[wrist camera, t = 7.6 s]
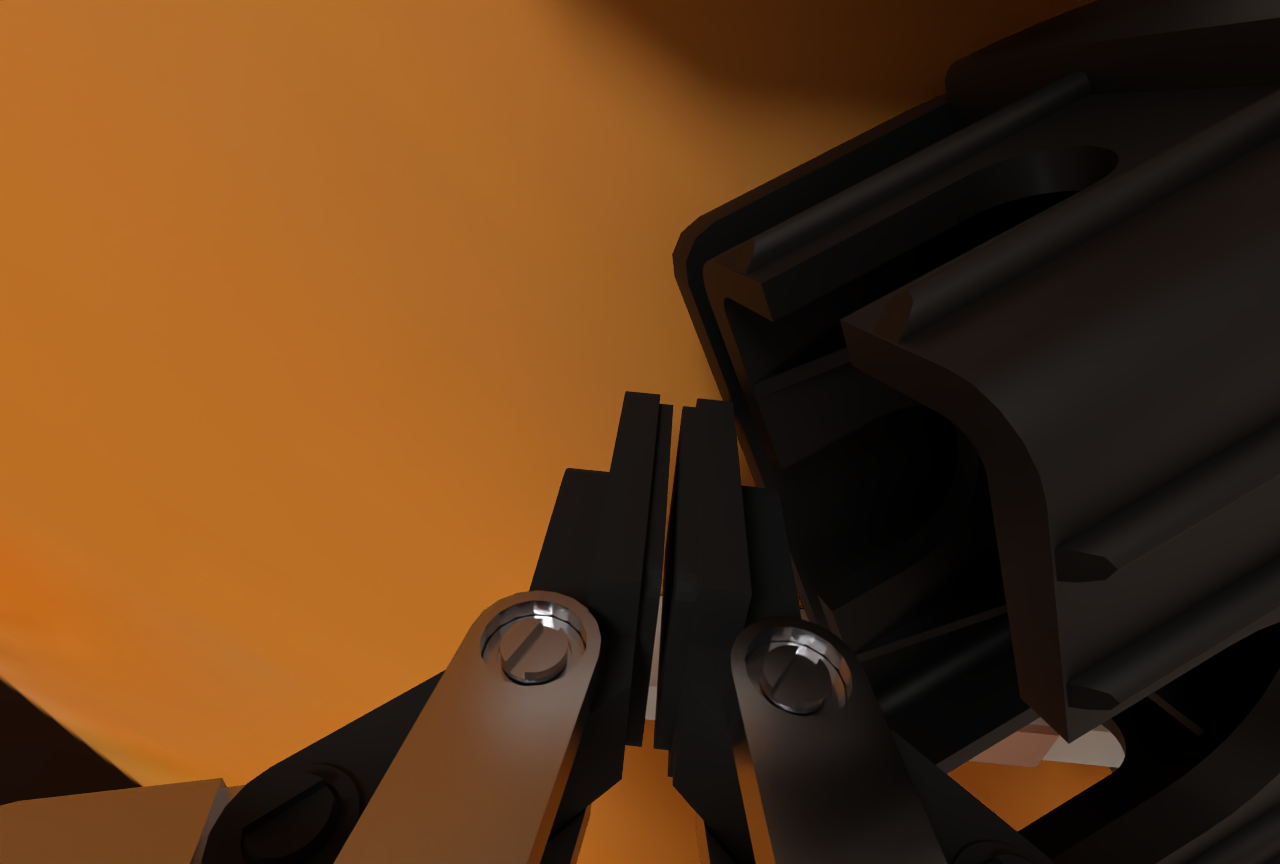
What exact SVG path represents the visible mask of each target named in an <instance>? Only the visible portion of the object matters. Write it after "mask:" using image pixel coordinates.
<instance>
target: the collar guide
mask: <svg viewBox="0 0 1280 864" xmlns="http://www.w3.org/2000/svg"><path fill="white" fill-rule="evenodd" d="M661 613H662V596H660V601H659V610H658V618H657V626H656V634H655V642H654V651H653V659H652V667H651V675H650V683H649V691H648V699H647V707H646V716H645V719H648V720H655V713H656V696H657V679H658V663H659V646H660V630H661ZM800 613H801V619H803V620H806V621H809V620H808V617H807V615H806V612H805V610H804V609H800ZM1124 757H1125V754H1124V751H1123V749H1122V747H1121V745H1120V743H1119V742H1118V740H1117V739H1116V737H1115V736H1114V735H1113V734H1112V733H1111V732H1110V731H1109V730H1108V729H1106V728H1105V727H1104V726H1102V725H1099V726H1097V727H1096V728H1094V729H1093V730H1091V731H1089V732H1088V733H1086V734H1084V735H1083V736H1081V737H1079V738H1078V739H1076V740H1074V741H1073V742H1071V743H1070V744H1068V743H1067V742H1066V741H1065V740H1064V739H1063V738H1062V737H1061V736H1060V735H1059V734H1058V733H1057V732H1056V731H1055V730H1054V729H1053V728H1052V727H1051V726H1049V725H1048V724H1047V723H1046V722H1045V721H1044V720H1043V719H1042V718H1041V717H1040V718H1038V719H1037V720H1035V721H1033V722H1032V723H1030V724H1028V725H1027V726H1025V727H1023V728H1022V729H1020V730H1018V731H1017V732H1015V733H1013V734H1012V735H1010V736H1008V737H1007V738H1005V739H1003V740H1002V741H1000V742H998V743H997V744H995V745H993V746H992V747H990V748H989V749H987V750H985V751H984V752H982V753H980V754H979V755H977V756H975V757H974V758H972V759H970V760H969V761H974V762H983V763H993V764H1003V765H1012V766H1022V767H1032V768H1036V767H1037V766H1038V765H1039V763H1040V762H1041V761H1042V760H1048V761H1058V762H1068V763H1078V764H1087V765H1097V766H1107V767H1110V769H1111V771H1112V773H1113V772H1114V771H1116V770H1117V769H1118V768H1119V767H1120V765H1121V764H1122V763H1123V760H1124Z"/></svg>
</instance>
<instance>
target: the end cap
mask: <svg viewBox="0 0 1280 864" xmlns="http://www.w3.org/2000/svg"><path fill="white" fill-rule="evenodd" d="M945 86H946V94H944V95H942V96H940V97H937V98H935V99H933V100H931V101H928V102H926V103H924V104H921V105H919V106H917V107H915V108H912V109H910V110H908V111H905V112H904V113H902V114H900V115H898V116H896V117H894V118H892V119H890V120H888V121H886V122H884V123H882V124H880V125H878V126H876V127H874V128H872V129H870V130H868V131H866V132H864V133H862V134H860V135H859V136H857V137H855V138H853V139H851V140H849V141H847V142H845V143H843V144H841V145H839V146H837V147H835V148H833V149H831V150H829V151H827V152H825V153H823V154H821V155H819V156H817V157H815V158H814V159H812V160H810V161H808V162H806V163H804V164H802V165H800V166H798V167H796V168H794V169H792V170H790V171H788V172H786V173H784V174H782V175H780V176H778V177H776V178H774V179H772V180H770V181H768V182H767V183H765V184H763V185H761V186H759V187H757V188H755V189H753V190H751V191H749V192H747V193H745V194H743V195H741V196H739V197H737V198H735V199H733V200H731V201H729V202H727V203H725V204H723V205H722V206H720V207H718V208H716V209H714V210H712V211H710V212H708V213H706V214H704V215H702V216H700V217H699V218H697V219H696V220H695V221H694V222H693V223H692V224H691V225H690V226H688V227H687V228H686V229H685V230H684V231H683V232H682V233H681V234H680V237H679V239H678V242H677V244H676V247H675V249H674V252H673V254H672V256H673V265H674V275H675V279H676V281H677V284H678V286H679V289H680V291H681V294H682V297H683V299H684V302H685V304H686V307H687V309H688V312H689V315H690V317H691V320H692V322H693V325H694V327H695V330H696V332H697V335H698V338H699V340H700V343H701V345H702V348H703V350H704V353H705V356H706V358H707V361H708V363H709V366H710V368H711V371H712V374H713V376H714V379H715V381H716V384H717V386H718V389H719V392H720V394H721V397H722V399H723V401H729V402H732V403H733V405H734V415H735V425H736V435H737V438H738V440H739V443H740V445H741V448H742V451H743V453H744V456H745V458H746V461H747V463H748V466H749V468H750V471H751V474H752V476H753V479H754V481H755V484H756V486H757V487H759V488H769V489H776V490H777V491H778V492H779V496H780V500H781V506H782V511H783V517H784V523H785V528H786V534H787V540H788V545H789V551H790V557H791V562H792V568H793V573H794V579H795V585H796V589H797V592H798V594H799V597H800V599H801V602H802V604H803V607H804V610H805V612H806V615H807V617H808V620H809V622H812V623H815V624H818V625H820V626H822V627H823V628H825V629H827V630H828V631H830V632H832V633H833V634H835V635H836V636H838V637H839V638H840V639H841V640H842V641H843V642H844V643H845V644H846V645H847V646H848V647H849V648H850V649H851V650H852V651H853V652H854V654H855V655H856V657H857V659H858V660H859V662H860V664H861V665H862V667H863V669H864V671H865V673H866V676H867V678H868V680H869V683H870V685H871V687H872V690H873V692H874V694H875V697H876V699H877V701H878V704H879V706H880V708H881V711H882V713H883V715H884V718H885V720H886V722H887V725H888V727H890V728H891V729H892V730H893V731H894V732H896V733H897V734H898V735H899V736H901V737H902V738H903V739H904V740H905V741H907V742H908V743H909V744H910V745H912V746H913V747H914V748H915V749H916V750H918V751H919V752H920V753H921V754H923V755H924V756H925V757H926V758H927V759H929V760H930V761H931V762H932V763H934V764H935V765H936V766H937V767H938V768H940V769H941V770H942V771H943V772H945V773H946V774H947V773H949V772H950V771H952V770H954V769H955V768H957V767H959V766H960V765H962V764H964V763H965V762H967V761H969V760H970V759H972V758H974V757H975V756H977V755H979V754H980V753H982V752H984V751H985V750H987V749H989V748H990V747H992V746H993V745H995V744H997V743H998V742H1000V741H1002V740H1003V739H1005V738H1007V737H1008V736H1010V735H1012V734H1013V733H1015V732H1017V731H1018V730H1020V729H1022V728H1023V727H1025V726H1027V725H1028V724H1030V723H1032V722H1033V721H1035V720H1037V719H1038V718H1040V717H1041V718H1042V719H1043V720H1044V721H1045V722H1046V723H1047V724H1048V725H1049V726H1051V727H1052V728H1053V729H1054V730H1055V731H1056V732H1057V733H1058V734H1059V735H1060V736H1061V737H1062V738H1063V739H1064V740H1065V741H1066V742H1067V743H1068V744H1070V743H1071V742H1073V741H1074V740H1076V739H1078V738H1079V737H1081V736H1083V735H1084V734H1086V733H1088V732H1089V731H1091V730H1093V729H1094V728H1096V727H1097V726H1099V725H1102V726H1104V727H1105V728H1106V729H1108V730H1109V731H1110V732H1111V733H1112V734H1113V735H1114V736H1115V737H1116V739H1117V740H1118V742H1119V743H1120V745H1121V747H1122V749H1123V751H1124V754H1125V757H1124V760H1123V763H1122V764H1121V765H1120V767H1119V768H1118V769H1117V770H1116V771H1114V772H1113V773H1112V774H1110V775H1109V776H1107V777H1106V778H1104V779H1102V780H1101V781H1099V782H1097V783H1096V784H1094V785H1093V786H1091V787H1089V788H1088V789H1086V790H1084V791H1083V792H1081V793H1080V794H1078V795H1076V796H1075V797H1073V798H1072V799H1070V800H1068V801H1067V802H1065V803H1063V804H1062V805H1060V806H1059V807H1057V808H1055V809H1054V810H1052V811H1050V812H1049V813H1047V814H1046V815H1044V816H1042V817H1041V818H1039V819H1038V820H1036V821H1034V822H1033V823H1031V824H1029V825H1028V826H1026V827H1025V828H1023V829H1021V830H1020V831H1018V833H1019V834H1020V835H1022V836H1023V837H1024V838H1025V839H1027V840H1028V841H1029V842H1030V843H1031V844H1033V845H1034V846H1035V847H1036V848H1038V849H1039V850H1040V851H1041V852H1042V853H1044V854H1045V855H1046V856H1047V857H1048V858H1049V859H1050V860H1051V861H1052V862H1053V863H1055V864H1280V0H1097V1H1094V2H1092V3H1089V4H1087V5H1084V6H1082V7H1079V8H1077V9H1074V10H1072V11H1069V12H1066V13H1064V14H1061V15H1059V16H1056V17H1054V18H1051V19H1049V20H1046V21H1044V22H1041V23H1039V24H1037V25H1034V26H1032V27H1030V28H1027V29H1025V30H1023V31H1020V32H1018V33H1016V34H1013V35H1011V36H1009V37H1007V38H1004V39H1002V40H1000V41H997V42H995V43H993V44H991V45H989V46H987V47H985V48H983V49H980V50H978V51H976V52H974V53H972V54H970V55H968V56H966V57H964V58H962V59H960V60H958V61H955V62H954V63H953V64H952V65H951V66H950V68H949V70H948V72H947V75H946V79H945Z"/></svg>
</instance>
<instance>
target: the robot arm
mask: <svg viewBox="0 0 1280 864" xmlns="http://www.w3.org/2000/svg"><path fill="white" fill-rule="evenodd" d="M659 403H660V395H659V394H649V393H639V392H628V391H626V392H625V397H624V402H623V407H622V412H621V417H620V422H619V427H618V432H617V437H616V442H615V447H614V452H613V457H612V463H611V468H610V472H603V471H593V470H583V469H573V468H567V469H566V471H565V473H564V476H563V479H562V483H561V486H560V489H559V493H558V496H557V499H556V503H555V506H554V509H553V513H552V516H551V520H550V523H549V526H548V530H547V533H546V536H545V540H544V543H543V546H542V550H541V553H540V556H539V560H538V563H537V566H536V570H535V573H534V576H533V580H532V583H531V586H530V590H529V591H528V592H520V593H516V594H513V595H511V596H508V597H505V598H503V599H500V600H498V601H497V602H495V603H494V604H493V605H491V606H490V607H488V608H487V609H485V610H484V611H483V612H482V613H481V614H480V616H479V617H478V618H477V619H476V621H475V622H474V623H473V624H472V626H471V627H470V629H469V631H468V632H467V634H466V636H465V638H464V639H463V641H462V643H461V644H460V646H459V648H458V650H457V651H456V653H455V655H454V657H453V658H452V660H451V662H450V663H449V665H448V667H447V669H446V670H444V671H443V672H441V673H439V674H437V675H436V676H434V677H432V678H430V679H428V680H427V681H425V682H423V683H421V684H419V685H418V686H416V687H414V688H412V689H410V690H409V691H407V692H405V693H403V694H401V695H400V696H398V697H396V698H394V699H392V700H391V701H389V702H387V703H385V704H383V705H382V706H380V707H378V708H376V709H374V710H373V711H371V712H369V713H367V714H365V715H364V716H362V717H360V718H358V719H356V720H355V721H353V722H351V723H349V724H347V725H346V726H344V727H342V728H340V729H338V730H337V731H335V732H333V733H331V734H329V735H328V736H326V737H324V738H322V739H320V740H319V741H317V742H315V743H313V744H312V745H310V746H308V747H306V748H304V749H303V750H301V751H299V752H297V753H295V754H294V755H292V756H290V757H288V758H286V759H285V760H283V761H281V762H279V763H277V764H276V765H274V766H272V767H270V768H269V769H267V770H266V771H265V772H263V773H262V774H260V775H259V776H257V777H256V778H255V779H253V780H252V781H250V782H249V783H247V784H246V785H241V786H233V787H226V785H225V783H224V781H223V779H222V778H217V779H208V780H200V781H191V782H182V783H174V784H165V785H156V786H147V787H139V788H130V789H122V790H114V791H104V792H95V793H87V794H78V795H70V796H61V797H52V798H43V799H35V800H27V801H18V802H14V803H10V804H6V805H2V806H0V864H576V863H577V860H578V856H579V853H580V849H581V846H582V842H583V839H584V835H585V832H586V828H587V825H588V821H589V818H590V812H591V804H592V802H593V801H595V800H596V799H597V798H598V797H600V796H601V795H602V794H603V793H605V792H606V791H607V790H608V789H610V788H611V787H612V786H613V785H615V784H616V783H617V782H619V781H620V780H621V779H622V771H623V761H624V751H625V745H630V746H639V747H642V740H643V732H644V724H645V716H646V707H647V699H648V691H649V683H650V675H651V667H652V659H653V651H654V642H655V634H656V626H657V618H658V610H659V601H660V592H661V582H662V570H663V556H664V540H665V525H666V509H667V494H668V478H669V463H670V447H671V432H672V416H673V405H667V404H659ZM654 749H663V750H669V756H668V776H669V777H673V786H674V787H675V788H676V789H677V791H678V792H679V793H680V794H681V795H682V796H683V798H684V799H685V800H686V801H687V802H688V803H689V804H690V806H691V807H692V808H693V809H694V810H695V811H696V834H697V841H698V848H699V856H700V863H701V864H1055V863H1053V862H1052V861H1051V860H1050V859H1049V858H1048V857H1047V856H1046V855H1045V854H1044V853H1042V852H1041V851H1040V850H1039V849H1038V848H1036V847H1035V846H1034V845H1033V844H1031V843H1030V842H1029V841H1028V840H1027V839H1025V838H1024V837H1023V836H1022V835H1020V834H1019V833H1018V832H1017V831H1016V830H1014V829H1013V828H1012V827H1011V826H1009V825H1008V824H1007V823H1006V822H1005V821H1003V820H1002V819H1001V818H1000V817H998V816H997V815H996V814H995V813H994V812H992V811H991V810H990V809H989V808H987V807H986V806H985V805H984V804H982V803H981V802H980V801H979V800H978V799H976V798H975V797H974V796H973V795H971V794H970V793H969V792H968V791H967V790H965V789H964V788H963V787H962V786H960V785H959V784H958V783H957V782H956V781H954V780H953V779H952V778H951V777H949V776H948V775H947V774H946V773H945V772H943V771H942V770H941V769H940V768H938V767H937V766H936V765H935V764H934V763H932V762H931V761H930V760H929V759H927V758H926V757H925V756H924V755H923V754H921V753H920V752H919V751H918V750H916V749H915V748H914V747H913V746H912V745H910V744H909V743H908V742H907V741H905V740H904V739H903V738H902V737H901V736H899V735H898V734H897V733H896V732H894V731H893V730H892V729H891V728H890V727H888V725H887V722H886V720H885V718H884V715H883V713H882V711H881V708H880V706H879V704H878V701H877V699H876V697H875V694H874V692H873V690H872V687H871V685H870V683H869V680H868V678H867V676H866V673H865V671H864V669H863V667H862V665H861V664H860V662H859V660H858V659H857V657H856V655H855V654H854V652H853V651H852V650H851V649H850V648H849V647H848V646H847V645H846V644H845V643H844V642H843V641H842V640H841V639H840V638H839V637H838V636H836V635H835V634H833V633H832V632H830V631H828V630H827V629H825V628H823V627H822V626H820V625H818V624H815V623H812V622H809V621H806V620H803V619H801V613H800V607H799V602H798V596H797V590H796V585H795V579H794V573H793V568H792V562H791V557H790V551H789V545H788V540H787V534H786V528H785V523H784V517H783V511H782V506H781V500H780V496H779V492H778V491H777V490H776V489H769V488H759V487H749V486H741V477H740V466H739V456H738V446H737V436H736V425H735V415H734V405H733V403H732V402H729V401H719V400H709V399H699V398H698V399H697V403H696V407H686V406H683V409H682V417H681V425H680V433H679V441H678V449H677V458H676V466H675V474H674V482H673V490H672V498H671V507H670V515H669V523H668V531H667V540H666V550H665V563H664V580H663V596H662V613H661V630H660V646H659V663H658V679H657V696H656V713H655V729H654Z"/></svg>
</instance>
